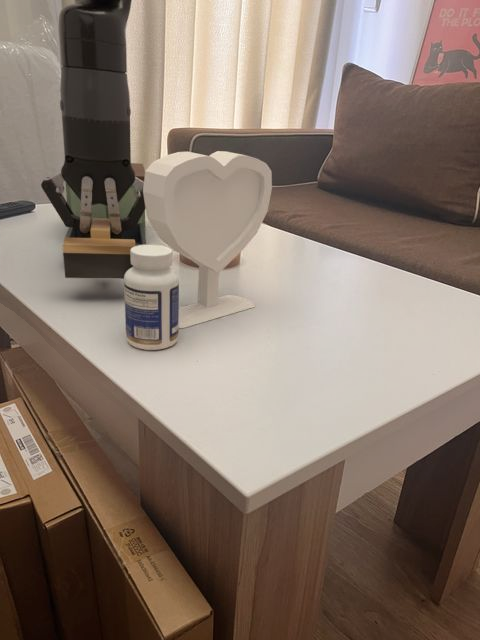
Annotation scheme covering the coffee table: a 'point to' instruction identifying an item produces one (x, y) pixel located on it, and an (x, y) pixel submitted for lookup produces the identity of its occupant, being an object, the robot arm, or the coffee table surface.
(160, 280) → the pill bottle
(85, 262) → the brush
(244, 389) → the coffee table surface
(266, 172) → the heart sculpture
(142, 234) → the tray
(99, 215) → the cabinet
